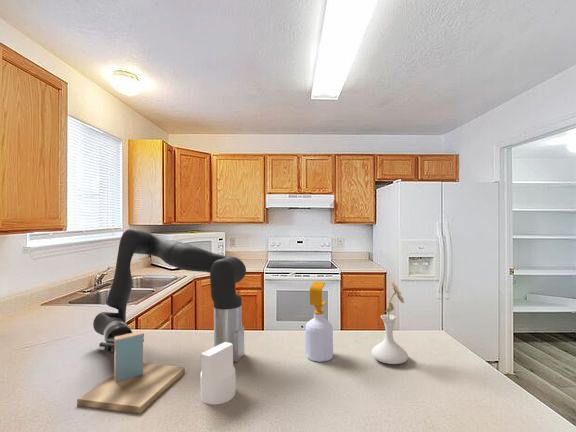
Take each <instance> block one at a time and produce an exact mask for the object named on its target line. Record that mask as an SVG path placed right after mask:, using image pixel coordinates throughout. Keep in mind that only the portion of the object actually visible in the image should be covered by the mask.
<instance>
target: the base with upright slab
mask: <svg viewBox="0 0 576 432" xmlns="http://www.w3.org/2000/svg"><path fill="white" fill-rule="evenodd" d="M199 374H200V376H199V377H200V400H201V402H202V403H205V404H207V405H220V404H224V403H227V402H229V401H230V400H232V399H233V398H234V397H235V395H236V393H237V392H236V367H235V366H234V362H233V344H232V343H228V342H224V343H222V344H220V345H218V346H216V347H211V348H210V349H208V350H206V351H203V352H201V371H200V373H199Z"/></svg>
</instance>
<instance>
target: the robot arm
mask: <svg viewBox="0 0 576 432" xmlns="http://www.w3.org/2000/svg"><path fill="white" fill-rule="evenodd" d="M117 250H118V251H117V257H116V263H115V271H114V275H113V280H112V283H111V287H110V289H109V292H108V295H107V297H106V302H105V303H106V305H107V306H108V307H110V308H113V309H116V310H117V312H108V311H104V312H100V313H97V315H96V316H95V317H94V319H93V322H92V325H93V329H94V331H95V332H96V333H97V334H99V335H101V336H103V340H104V342H103V341H101V342H100V343H98V344H99V345H98V346H99V351H98V352H99V353H106V354H114V337H116V336H121V335H125V334H130V333H133V330H132V329H131V328H130V327H129V326H128V324H127V322H126V321H127V315H126V314H127V305H128V301H129V297H130V296H131V292H132V288H133V278H132V272H131V264H132V263H131V262H132V258H133V256H134V255H135V254H138V255H145V256H146V255H148V256H153V257H156V258H159V259H161V261H163V262H164V263H165V264H167V265H169V266H171V267H174V268H176V269H180V270H184V271H188V272H189V271H190V272H198V273H200V272H201V273H208V274H209V281H210V282H209V283H210V284H209V285H210V297H211V300H212V302H213V341H214V342H213V346H214V347H216V346H218V345H220V344H222V343H224V342H228V343H232V344H233V363H234V362H235V363H239V361H240V360H241V359H242V358H243V357H244V355H245V327H244V326H243V317H242V316H243V315H242V314H243V310H242V306H243V305H242V304H243V301H242V297H241V295H239V294H237V293H236V285H235V284H237V283H240V282H242V280H243V279H244V278H245V277H246V273H247V269H246V268H247V267H246V265H245V264H244V262H243V261H242V260H241V259H240V258H238V257H235V256H231V255H230V256H229V255H224V254H220V253H214V252H211V251H208V250H206V249H203V248H200V247H197V246H193V245H191V244H188V243H185V242H182V241H177V240H171V239H165V238H163V237H160V236H157V235H156V234H154V233H151V232H149V231H147V230H140V229H137V228H127V229H126V230H125V231H124V232H123V234H122V235H121V237H120V239H119V245H118V249H117ZM144 342H145V334H144V333H143V343H144Z"/></svg>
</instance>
